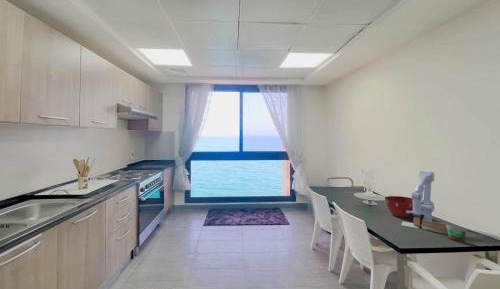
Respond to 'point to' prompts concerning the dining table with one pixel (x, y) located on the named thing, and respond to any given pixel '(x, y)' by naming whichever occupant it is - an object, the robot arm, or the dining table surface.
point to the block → (416, 221)
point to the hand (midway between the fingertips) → (416, 223)
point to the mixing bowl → (399, 205)
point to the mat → (409, 225)
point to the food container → (456, 233)
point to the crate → (434, 226)
